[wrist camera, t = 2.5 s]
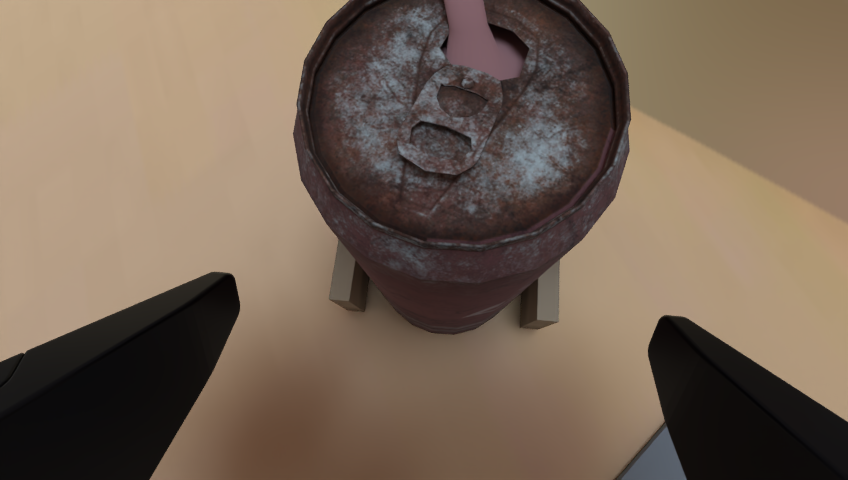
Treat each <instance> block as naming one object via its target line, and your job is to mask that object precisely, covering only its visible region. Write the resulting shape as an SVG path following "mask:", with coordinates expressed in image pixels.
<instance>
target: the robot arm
mask: <svg viewBox="0 0 848 480" xmlns="http://www.w3.org/2000/svg"><path fill="white" fill-rule="evenodd" d="M239 311H240V301H239V296H238V291H237V286H236V281H235V278H234V276H233V275H232V274H230V273H223V272H211V273H208V274H206V275H204V276H201V277H199V278H197V279H194V280H192V281H189V282H187V283H185V284H182V285H180V286H178V287H175V288H173V289H171V290H168V291H166V292H164V293H161V294H159V295H157V296H154V297H152V298H150V299H147V300H145V301H143V302H140V303H138V304H135V305H133V306H131V307H128V308H126V309H124V310H121V311H119V312H117V313H114V314H112V315H110V316H107V317H105V318H103V319H100V320H98V321H96V322H93V323H91V324H89V325H86V326H84V327H81V328H79V329H77V330H74V331H72V332H70V333H67V334H65V335H63V336H60V337H58V338H56V339H53V340H51V341H49V342H46V343H44V344H42V345H39V346H37V347H34V348H32V349H30V350H28V351H26V353H25V354H24V353H20V354H18V355H15V356H13V357H11V358H8V359H6V360H4V361H1V362H0V480H149V479H150V478H151V476H152V474H153V473H154V471H155V469H156V467H157V466H158V464H159V462H160V461H161V459H162V457H163V456H164V454H165V452H166V451H167V449H168V447H169V445H170V444H171V442H172V440H173V439H174V437H175V435H176V434H177V432H178V430H179V429H180V427H181V425H182V424H183V422H184V420H185V418H186V417H187V415H188V413H189V412H190V410H191V408H192V407H193V405H194V403H195V402H196V400H197V398H198V396H199V395H200V393H201V391H202V390H203V388H204V386H205V385H206V383H207V381H208V379H209V377H210V376H211V374H212V372H213V370H214V368H215V366H216V363H217V361H218V359H219V357H220V355H221V352H222V350H223V348H224V346H225V344H226V341H227V339H228V337H229V335H230V333H231V330H232V328H233V326H234V324H235V322H236V319H237V317H238V315H239ZM648 357H649V361H650V365H651V369H652V373H653V377H654V381H655V384H656V388H657V392H658V396H659V400H660V404H661V408H662V412H663V415H664V419H665V422H666V426H667V429H668V431H669V434H670V437H671V440H672V442H673V445H674V448H675V450H676V453H677V456H678V458H679V461H680V463H681V466H682V469H683V471H684V474H685V477H686V479H687V480H848V422H847V421H846V420H844V419H842V418H841V417H839V416H838V415H836V414H835V413H833V412H832V411H830V410H828V409H827V408H825V407H824V406H822V405H821V404H819V403H818V402H816V401H814V400H813V399H811V398H810V397H808V396H807V395H805V394H804V393H802V392H801V391H799V390H797V389H796V388H794V387H793V386H791V385H790V384H788V383H787V382H785V381H783V380H782V379H780V378H779V377H777V376H776V375H774V374H773V373H771V372H769V371H768V370H766V369H765V368H763V367H762V366H760V365H759V364H757V363H756V362H754V361H752V360H751V359H749V358H748V357H746V356H745V355H743V354H742V353H740V352H738V351H737V350H735V349H734V348H732V347H731V346H729V345H728V344H726V343H725V342H723V341H721V340H720V339H718V338H717V337H715V336H714V335H712V334H711V333H709V332H707V331H706V330H704V329H703V328H701V327H700V326H698V325H697V324H695V323H694V322H692V321H690V320H689V319H687V318H685V317H681V316H671V315H664V316H662V317H661V318H660V319H659V321H658V323H657V326H656V328H655V331H654V333H653V336H652V338H651V341H650V343H649V347H648Z"/></svg>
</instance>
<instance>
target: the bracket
mask: <svg viewBox="0 0 848 480" xmlns="http://www.w3.org/2000/svg"><path fill="white" fill-rule="evenodd" d="M559 265H560V259H559V260H558V261H557V262H556V263H555V264H554V265H552V266H551V267H550V268H549V269H548V270H547V271H546V272H544V273H543V274H542V275H541V276H540V277H539V278H538V279H536V280H535V281H534V282H533V283H532V284H531V285H529V286H528V287H527V288H526V289H525V290H524V291H523V292H522V293H521V318H520V328H530V329H540V328H543V327H546V326H549V325H551V324H554V323H557V322H559ZM368 282H369V276H368V275H367V274H366V272H365V271H364V270H363V269H362V267H361V266H360V265H359V264H358V262H357V261H356V260H355V259H354V257H353V256H352V255H351V254H350V252H349V251H348V250H347V249H346V247H345V246H344V245H343V244H342V242H341V241H340V240H339V241H338V247H337V253H336V259H335V265H334V271H333V277H332V283H331V289H330V295H329V299H330V300H331V301H333V302H335V303H336V304H338V305H340V306H341V307H343V308H345V309H346V310H351V311H361V312H364V311H365V304H366V297H367V289H368Z"/></svg>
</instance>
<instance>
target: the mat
mask: <svg viewBox="0 0 848 480" xmlns="http://www.w3.org/2000/svg"><path fill="white" fill-rule="evenodd" d="M616 480H687V479H686V477H685V474H684V471H683V469H682V466H681V463H680V461H679V458H678V456H677V453H676V450H675V448H674V445H673V442H672V440H671V437H670V434H669V431H668V429H667V426H666V422H665V424H664V425H663V426H662V427H661V428H660V429H659V430H658V432H657V433H656V434H655V435H654V436H653V437H652V439H651V440H650V441H649V442H648V443H647V444H646V446H645V447H644V448H643V449H642V450H641V451H640V452H639V454H638V455H637V456H636V457H635V458H634V459H633V461H632V462H631V463H630V464H629V465H628V466H627V468H626V469H625V470H624V471H623V472H622V473H621V474H620V476H619V477H618V478H617V479H616Z"/></svg>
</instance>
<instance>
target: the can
mask: <svg viewBox="0 0 848 480" xmlns="http://www.w3.org/2000/svg"><path fill="white" fill-rule="evenodd" d="M628 84H629V83H628V73H627V71H626V68H625V66H624V64H623V62H622V59H621V57H620V55H619V53H618V51H617V48H616V46H615V44H614V42H613V40H612V37H611V35H610V33H609V31H608V30H607V29H606V28H605V27H604V26H603V25H602V24H601V23H600V22H599V21H598V19H597V18H596V17H595V16H594V15H593V14H592V13H591V12H590V11H589V10H588V9H587V8H586V7H585V5H584V4H583V3H582V2H581V1H580V0H349V1H348V2H347V3H346V4H345V5H344V6H343V7H342V8H341V9H340V10H339V11H338V12H336V13H335V14H334V15H333V16H332V17H331V18H330V19H329V20H328V21H327V22H326V23H325V25H324V27H323V29H322V30H321V32H320V34H319V36H318V37H317V39H316V41H315V43H314V44H313V46H312V48H311V50H310V51H309V53H308V55H307V57H306V58H305V60H304V65H303V71H302V76H301V82H300V88H299V93H298V99H297V115H296V120H295V126H294V132H293V136H294V142H295V148H296V153H297V159H298V165H299V170H300V176H301V181H302V182H303V184H304V186H305V188H306V189H307V191H308V193H309V194H310V196H311V198H312V200H313V201H314V203H315V205H316V206H317V208H318V210H319V212H320V213H321V215H322V217H323V218H324V220H325V222H326V224H327V225H328V226H329V227H330V229H331V230H332V231H333V232H334V234H335V235H336V236H337V237H338V239H339V240H340V241H341V242H342V244H343V245H344V246H345V247H346V249H347V250H348V251H349V252H350V254H351V255H352V256H353V257H354V259H355V260H356V261H357V262H358V264H359V265H360V266H361V267H362V269H363V270H364V271H365V272H366V274H367V275H368V276H369V277H370V279H371V280H372V281H373V282H374V284H375V285H376V286H377V287H378V289H379V290H380V291H381V292H382V294H383V295H384V296H385V297H386V299H387V300H388V301H389V302H390V304H391V305H392V306H393V307H394V309H395V310H396V311H397V312H398V313H399V314H401V315H402V316H403V317H404V318H405V319H406V320H408V321H409V322H410V323H411V324H412V325H415V326H417V327H419V328H422V329H424V330H427V331H429V332H431V333H441V334H457V333H461V332H465V331H469V330H473V329H476V328H477V327H479V326H480V325H482V324H484V323H485V322H487V321H488V320H490V319H491V318H493V317H494V316H495V315H496V314H497V313H499V312H500V311H501V310H502V309H503V308H504V307H505V306H507V305H508V304H509V303H510V302H511V301H512V300H513V299H515V298H516V297H517V296H518V295H519V294H520V293H521V292H523V291H524V290H525V289H526V288H527V287H528V286H529V285H531V284H532V283H533V282H534V281H535V280H536V279H538V278H539V277H540V276H541V275H542V274H543V273H544V272H546V271H547V270H548V269H549V268H550V267H551V266H552V265H554V264H555V263H556V262H557V261H558V260H559V259H560V258H562V257H563V256H564V255H565V254H566V253H567V252H568V251H570V250H571V249H572V248H573V247H574V246H575V245H577V244H578V243H579V242H580V241H581V240H582V239H583V238H584V237H585V236H586V234H587V233H588V232H589V230H590V229H591V228H592V227H593V225H594V224H595V223H596V221H597V220H598V219H599V218H600V216H601V215H602V214H603V212H604V211H605V210H606V209H607V207H608V206H609V205H610V203H611V202H612V201H613V200H614V198H615V196H616V193H617V189H618V186H619V183H620V180H621V176H622V173H623V170H624V167H625V163H626V160H627V157H628V154H629V151H630V150H629V135H628V127H629V124H630V121H631V112H630V99H629V85H628Z"/></svg>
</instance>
